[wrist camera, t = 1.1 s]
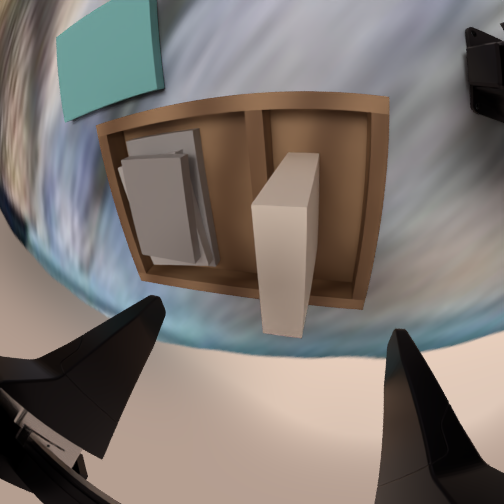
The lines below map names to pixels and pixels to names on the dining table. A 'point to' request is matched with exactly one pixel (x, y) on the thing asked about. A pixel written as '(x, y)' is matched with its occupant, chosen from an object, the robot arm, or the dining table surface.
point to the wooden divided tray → (259, 172)
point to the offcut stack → (170, 198)
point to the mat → (109, 57)
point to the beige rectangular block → (287, 242)
